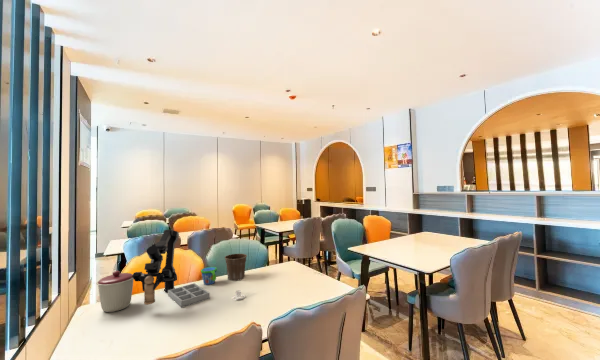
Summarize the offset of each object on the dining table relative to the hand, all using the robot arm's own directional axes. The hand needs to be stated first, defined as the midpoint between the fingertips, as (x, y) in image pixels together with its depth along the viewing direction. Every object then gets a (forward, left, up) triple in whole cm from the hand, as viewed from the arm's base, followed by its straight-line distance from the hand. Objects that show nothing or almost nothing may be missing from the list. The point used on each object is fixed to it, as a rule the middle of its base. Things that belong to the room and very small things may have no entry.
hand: (148, 290), depth 139 cm
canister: (-24, -11, -13) cm, 29 cm away
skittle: (-1, +1, -7) cm, 7 cm away
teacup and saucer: (+16, +42, -14) cm, 47 cm away
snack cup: (-22, +43, -13) cm, 50 cm away
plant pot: (-17, +62, -13) cm, 66 cm away
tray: (-8, +23, -13) cm, 28 cm away
